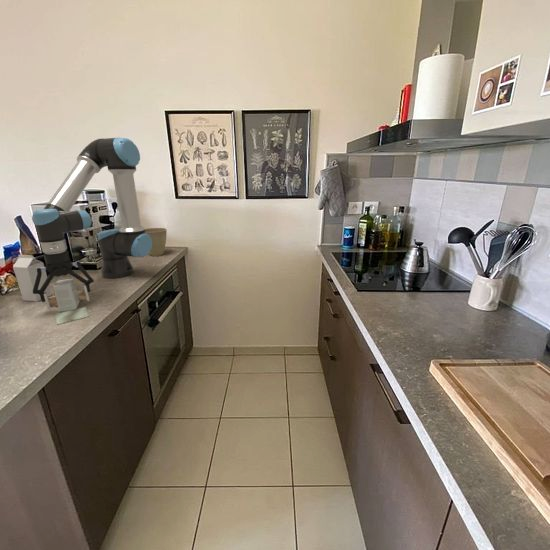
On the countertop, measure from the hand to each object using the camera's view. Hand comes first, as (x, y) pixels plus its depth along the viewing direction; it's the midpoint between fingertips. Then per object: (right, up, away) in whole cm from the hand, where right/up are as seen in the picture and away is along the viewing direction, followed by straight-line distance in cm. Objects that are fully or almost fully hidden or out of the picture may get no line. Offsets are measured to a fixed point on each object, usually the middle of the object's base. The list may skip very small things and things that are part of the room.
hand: (69, 304), depth 119 cm
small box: (0, -1, +1) cm, 1 cm away
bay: (+2, -2, -2) cm, 4 cm away
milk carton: (-20, +2, +10) cm, 22 cm away
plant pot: (+6, +25, +74) cm, 78 cm away
